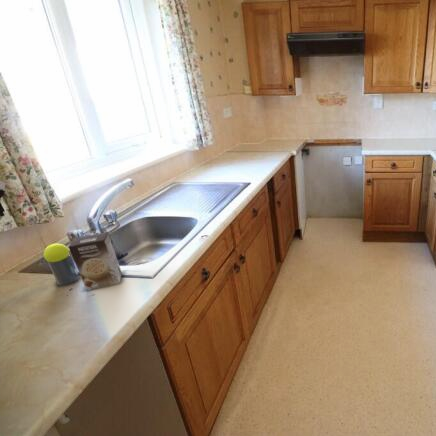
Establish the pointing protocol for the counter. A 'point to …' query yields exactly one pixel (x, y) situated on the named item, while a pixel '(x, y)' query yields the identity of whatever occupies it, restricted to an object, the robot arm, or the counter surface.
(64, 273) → the tumbler
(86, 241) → the coffee box
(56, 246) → the ball
